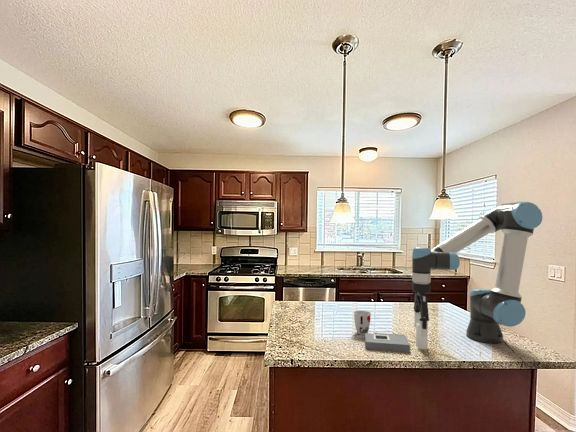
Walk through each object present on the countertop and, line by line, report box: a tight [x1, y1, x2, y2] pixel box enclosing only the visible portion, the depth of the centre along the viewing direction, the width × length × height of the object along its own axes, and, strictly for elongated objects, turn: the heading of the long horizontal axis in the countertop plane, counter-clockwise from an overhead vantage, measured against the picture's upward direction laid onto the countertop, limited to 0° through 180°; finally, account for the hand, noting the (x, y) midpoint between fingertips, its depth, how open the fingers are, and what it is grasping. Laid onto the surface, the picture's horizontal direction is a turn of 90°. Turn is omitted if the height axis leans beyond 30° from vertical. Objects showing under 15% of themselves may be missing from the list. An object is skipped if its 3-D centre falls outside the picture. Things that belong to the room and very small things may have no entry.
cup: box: [353, 310, 372, 336], centre depth 164 cm, size 8×8×10 cm
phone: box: [374, 332, 406, 336], centre depth 157 cm, size 14×7×1 cm, turn 79°
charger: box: [415, 323, 429, 350], centre depth 144 cm, size 4×4×10 cm
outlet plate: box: [364, 332, 411, 353], centre depth 146 cm, size 18×12×3 cm, turn 79°
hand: (420, 331), depth 144 cm, fingers open, 13 cm apart
